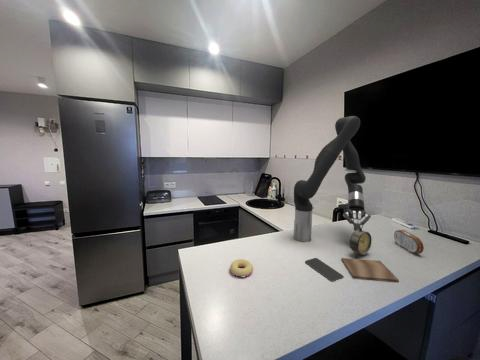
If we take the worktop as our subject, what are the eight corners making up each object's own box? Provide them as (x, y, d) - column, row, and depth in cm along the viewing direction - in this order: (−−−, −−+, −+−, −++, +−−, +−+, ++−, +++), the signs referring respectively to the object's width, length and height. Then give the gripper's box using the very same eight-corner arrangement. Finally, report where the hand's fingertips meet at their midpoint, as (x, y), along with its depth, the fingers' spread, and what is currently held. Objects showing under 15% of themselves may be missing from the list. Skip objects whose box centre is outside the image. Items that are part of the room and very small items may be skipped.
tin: (423, 256, 91) (425, 239, 89) (416, 256, 91) (418, 240, 90) (397, 242, 106) (399, 227, 104) (392, 242, 106) (393, 227, 104)
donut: (245, 267, 88) (226, 269, 84) (246, 257, 88) (227, 259, 84) (256, 277, 78) (235, 280, 75) (257, 265, 79) (236, 267, 75)
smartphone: (331, 281, 74) (303, 261, 87) (331, 284, 74) (303, 262, 87) (345, 276, 77) (316, 257, 90) (345, 278, 77) (316, 259, 90)
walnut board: (353, 278, 76) (353, 275, 76) (341, 260, 89) (341, 257, 88) (398, 282, 73) (398, 279, 73) (379, 262, 86) (380, 260, 86)
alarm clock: (357, 260, 89) (360, 226, 86) (346, 254, 93) (348, 222, 91) (371, 254, 94) (374, 221, 91) (359, 249, 98) (362, 218, 96)
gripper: (342, 197, 106) (343, 226, 97) (371, 199, 101) (374, 230, 91) (341, 204, 112) (341, 232, 102) (368, 206, 106) (371, 236, 97)
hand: (357, 231), depth 97 cm, fingers closed
